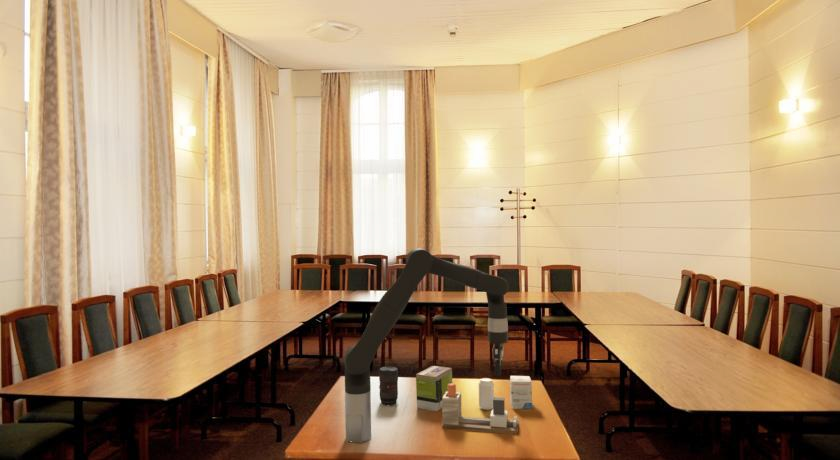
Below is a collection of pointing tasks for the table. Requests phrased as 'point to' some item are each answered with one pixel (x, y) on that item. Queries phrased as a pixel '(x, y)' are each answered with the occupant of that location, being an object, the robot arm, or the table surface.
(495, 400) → the carriage
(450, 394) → the cylinder
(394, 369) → the camera lens
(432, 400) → the tea box
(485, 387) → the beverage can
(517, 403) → the ink box
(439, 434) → the table surface
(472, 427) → the rail board
